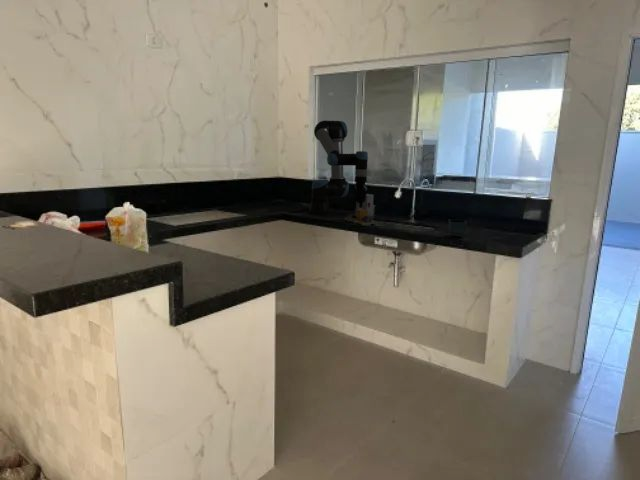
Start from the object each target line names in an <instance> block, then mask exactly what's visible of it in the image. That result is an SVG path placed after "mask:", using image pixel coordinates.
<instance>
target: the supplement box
mask: <svg viewBox="0 0 640 480" xmlns="http://www.w3.org/2000/svg"><path fill="white" fill-rule="evenodd" d="M363 209H364V210H368V215H369V216H372V217H373V213H374V212H373V211H374V194H373V193H372V194H371V193H366V198H365V202H363V203H362V210H363ZM356 210H357V201H355V211H356ZM368 215H367V216H368Z"/></svg>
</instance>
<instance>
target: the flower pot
mask: <svg viewBox="0 0 640 480" xmlns="http://www.w3.org/2000/svg"><path fill="white" fill-rule="evenodd" d="M447 220H448V231H449V233H451V234H454V235H463V236H464V235H465V232H466V229H467V225H468V222H467V221H466V220H464V219H447ZM451 234H450V235H451Z"/></svg>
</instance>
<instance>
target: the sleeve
mask: <svg viewBox="0 0 640 480" xmlns="http://www.w3.org/2000/svg"><path fill="white" fill-rule="evenodd" d="M355 214H356V217H357V219H358V220H362V218H364V216H367V215H368V210H364V209H363V210H356V209H355Z"/></svg>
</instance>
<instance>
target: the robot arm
mask: <svg viewBox="0 0 640 480" xmlns="http://www.w3.org/2000/svg"><path fill="white" fill-rule="evenodd" d="M313 131H314V132H313V133H314V137H315V139H316V140H317V141H319V143H320V144H321V147H322V148H323V150H324V152H325V153H326V155H327V158H326V162H327V164H328V165H329V166H330V173H331V177H330V178H329V180H328V178H327V179H325V178H324V179H316V180H313V181H312V183H311V201H310V202H311V203H310V205H309V209H308V213H309V214H313V215H328V214H330V213H331V208H330V204H329V199H332V198H333V199H335V198H336V199H337V198H345V197H346V196H347V195H348V193H349V190H350V185H349V181H348V180H347V179H346V177H345V176H344V166H355V167H354V168H355V169H354V170H355V171H354V175H355V176H354V182H355V185H353V186H352V188H353V194H354V195H353V196H354V201H355V202H356V201H357V210H362V203H363V202H365V198H366V194H368V190H369V188H368V187H367V186H366V183H367V178H368V177H367V176H368V159H369V157H368V151H363V150H362V151H361V150H359V151H356V152H354V153H344V150H343V143H344V141H345V139H346V138H347V136H348V126H347V124H346V123H345V122H344V121H342V120H321V121H319V122H317V124H316V125H315V127H314V130H313Z"/></svg>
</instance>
